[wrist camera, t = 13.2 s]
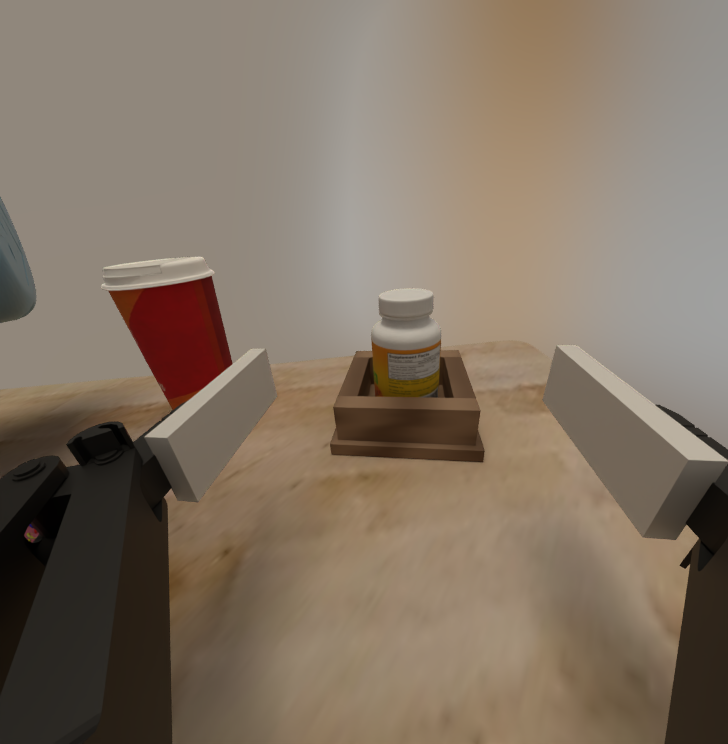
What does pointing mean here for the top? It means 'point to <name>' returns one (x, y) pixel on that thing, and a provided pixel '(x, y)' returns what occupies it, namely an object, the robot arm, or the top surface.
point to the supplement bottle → (406, 345)
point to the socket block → (408, 416)
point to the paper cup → (172, 321)
